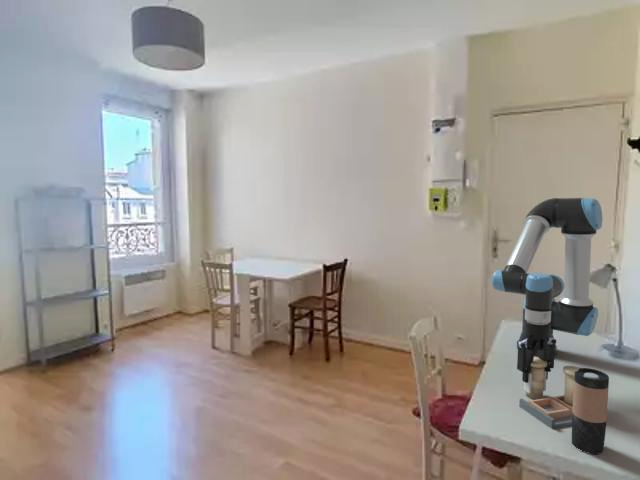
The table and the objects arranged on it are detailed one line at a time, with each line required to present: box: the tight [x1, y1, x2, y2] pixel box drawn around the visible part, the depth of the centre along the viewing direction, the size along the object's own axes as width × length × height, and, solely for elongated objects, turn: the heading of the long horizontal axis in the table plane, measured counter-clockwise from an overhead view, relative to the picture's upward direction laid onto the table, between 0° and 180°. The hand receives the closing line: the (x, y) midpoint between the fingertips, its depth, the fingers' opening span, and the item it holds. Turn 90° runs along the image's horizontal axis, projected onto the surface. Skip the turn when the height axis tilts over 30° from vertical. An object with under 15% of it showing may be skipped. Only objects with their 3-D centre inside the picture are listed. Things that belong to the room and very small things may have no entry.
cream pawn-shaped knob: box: [525, 356, 547, 400], centre depth 138 cm, size 6×6×12 cm
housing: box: [518, 365, 581, 429], centre depth 127 cm, size 13×19×13 cm
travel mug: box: [571, 367, 610, 455], centre depth 110 cm, size 8×8×20 cm
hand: (534, 389), depth 139 cm, fingers closed on cream pawn-shaped knob, 5 cm apart
